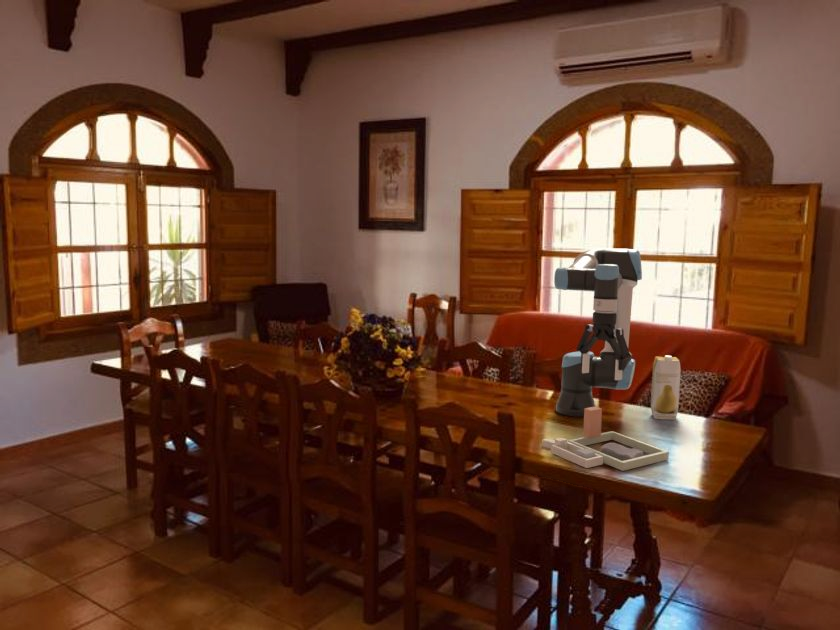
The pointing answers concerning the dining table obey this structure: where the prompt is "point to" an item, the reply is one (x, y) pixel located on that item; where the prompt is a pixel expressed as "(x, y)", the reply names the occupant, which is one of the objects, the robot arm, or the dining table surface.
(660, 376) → the juice carton
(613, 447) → the stone block
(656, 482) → the dining table surface
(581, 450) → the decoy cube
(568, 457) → the tray
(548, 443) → the snapped post
